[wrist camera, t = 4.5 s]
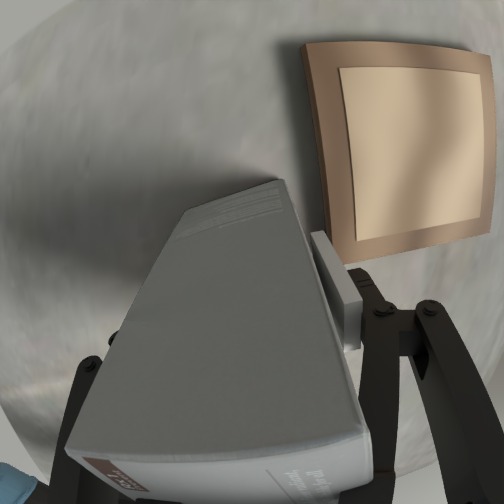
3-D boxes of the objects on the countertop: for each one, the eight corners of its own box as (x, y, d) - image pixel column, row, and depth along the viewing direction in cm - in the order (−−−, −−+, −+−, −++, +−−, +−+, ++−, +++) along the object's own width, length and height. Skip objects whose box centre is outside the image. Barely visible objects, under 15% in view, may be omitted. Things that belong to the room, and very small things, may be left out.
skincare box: (316, 284, 21) (393, 514, 7) (219, 313, 22) (211, 544, 8) (283, 167, 17) (427, 427, 3) (168, 207, 18) (48, 471, 4)
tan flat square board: (328, 254, 20) (334, 267, 19) (299, 47, 14) (306, 43, 13) (478, 224, 20) (490, 233, 18) (476, 56, 14) (490, 55, 12)
